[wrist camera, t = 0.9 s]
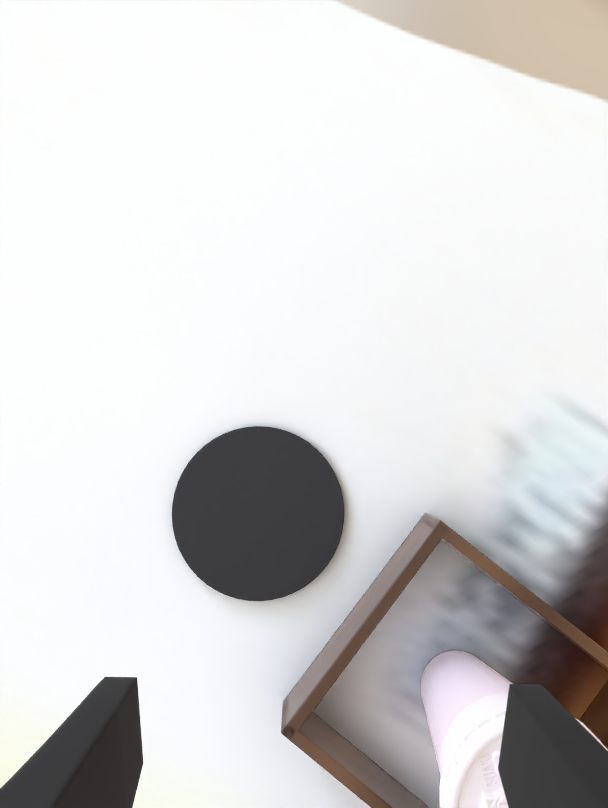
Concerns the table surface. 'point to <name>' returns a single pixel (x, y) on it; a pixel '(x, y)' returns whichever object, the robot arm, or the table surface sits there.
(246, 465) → the coaster
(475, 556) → the box
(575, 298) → the table surface
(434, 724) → the smoothie
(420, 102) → the table surface
